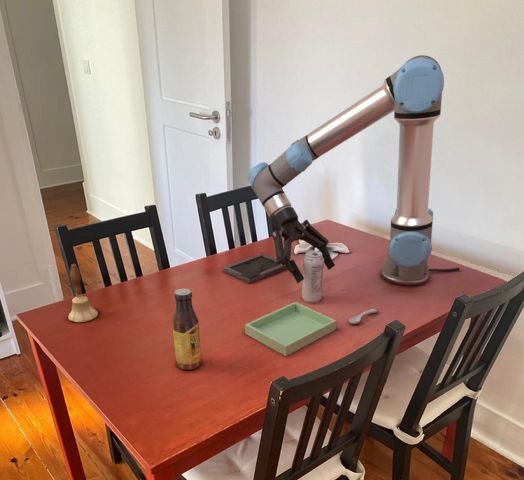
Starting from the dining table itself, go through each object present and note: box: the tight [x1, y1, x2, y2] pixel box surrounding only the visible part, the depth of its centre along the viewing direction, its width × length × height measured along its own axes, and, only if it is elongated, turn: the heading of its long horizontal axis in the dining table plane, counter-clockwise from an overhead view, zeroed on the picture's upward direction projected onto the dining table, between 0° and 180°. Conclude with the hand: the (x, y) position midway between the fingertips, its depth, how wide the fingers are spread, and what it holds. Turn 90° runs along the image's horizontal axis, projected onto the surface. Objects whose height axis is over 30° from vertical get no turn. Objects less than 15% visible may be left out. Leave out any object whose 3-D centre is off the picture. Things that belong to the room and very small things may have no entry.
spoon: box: [348, 308, 378, 325], centre depth 151 cm, size 3×12×2 cm, turn 135°
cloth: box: [293, 239, 351, 260], centre depth 195 cm, size 22×19×6 cm
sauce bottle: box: [172, 287, 202, 371], centre depth 127 cm, size 6×6×20 cm
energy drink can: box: [301, 250, 325, 304], centre depth 158 cm, size 6×6×15 cm
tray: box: [244, 301, 337, 357], centre depth 145 cm, size 20×16×3 cm
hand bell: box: [67, 263, 99, 323], centre depth 150 cm, size 8×8×16 cm
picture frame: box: [222, 252, 288, 284], centre depth 181 cm, size 13×2×18 cm
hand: (316, 274), depth 156 cm, fingers open, 13 cm apart
